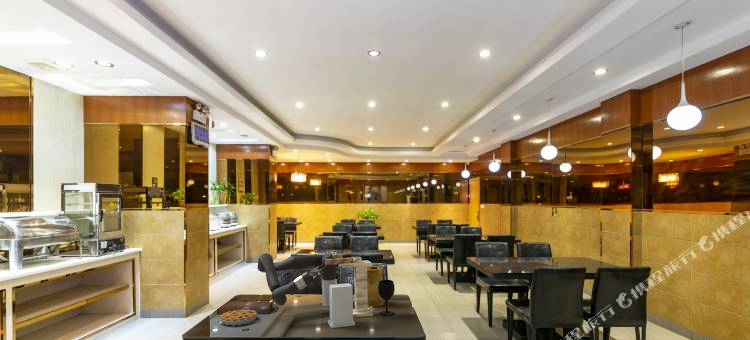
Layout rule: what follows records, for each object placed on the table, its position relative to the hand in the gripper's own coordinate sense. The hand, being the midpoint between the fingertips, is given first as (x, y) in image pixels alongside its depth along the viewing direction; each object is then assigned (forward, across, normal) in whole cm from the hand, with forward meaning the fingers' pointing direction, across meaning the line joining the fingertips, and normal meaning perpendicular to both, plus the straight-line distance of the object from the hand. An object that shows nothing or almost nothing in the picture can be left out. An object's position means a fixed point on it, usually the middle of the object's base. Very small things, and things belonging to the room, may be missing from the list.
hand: (326, 265), depth 253 cm
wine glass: (+16, -5, +46) cm, 49 cm away
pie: (-60, +13, +2) cm, 62 cm away
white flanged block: (-11, -15, +30) cm, 35 cm away
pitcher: (+15, +20, +45) cm, 52 cm away
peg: (+10, 0, +5) cm, 11 cm away
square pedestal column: (0, 0, +36) cm, 37 cm away
